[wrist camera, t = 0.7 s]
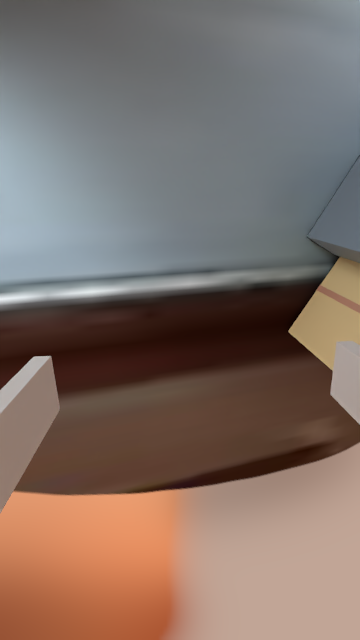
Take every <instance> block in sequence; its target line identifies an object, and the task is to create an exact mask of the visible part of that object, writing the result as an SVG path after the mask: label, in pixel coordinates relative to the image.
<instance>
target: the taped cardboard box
mask: <svg viewBox="0 0 360 640" xmlns="http://www.w3.org/2000/svg"><path fill="white" fill-rule="evenodd" d="M288 332H289V333H290V334H291V335H292V336H294V337H295V338H296V339H297V340H298V341H299V342H300V343H302V344H303V345H304V346H305V347H306V348H307V349H308V350H310V351H311V352H312V353H313V354H314V355H315V356H316V357H318V358H319V359H320V360H321V361H322V362H323V363H324V364H326V365H327V366H328V367H329V368H330V369H331V370H332V371H333V367H334V358H335V350H336V342H340V341H354V342H355V343H357V344H358V345H360V263H358V262H355V261H352V260H349V259H346V258H343V257H339V259H338V260H337V262H336V263H335V265H334V266H333V267H332V269H331V270H330V272H329V273H328V275H327V276H326V278H325V279H324V280H323V282H322V283H321V285H319V287H318V288H317V290H316V292H315V293H314V295H313V296H312V298H311V299H310V300H309V302H308V303H307V305H306V306H305V308H304V309H303V311H302V312H301V313H300V315H299V316H298V318H297V319H296V321H295V322H294V323H293V325H292V326H291V328H290V329H289V331H288Z"/></svg>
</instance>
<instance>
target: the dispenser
mask: <svg viewBox="0 0 360 640" xmlns="http://www.w3.org/2000/svg"><path fill="white" fill-rule="evenodd" d="M307 237H308V238H310V239H311V240H313V241H314V242H316V243H317V244H319V245H320V246H322V247H323V248H325V249H326V250H328V251H329V252H331V253H332V254H334V255H337V256H340V257H343V258H346V259H349V260H352V261H355V262H358V263H360V156H359V157H358V159H357V161H356V162H355V164H354V165H353V167H352V168H351V170H350V171H349V173H348V174H347V176H346V177H345V179H344V181H343V182H342V184H341V185H340V187H339V188H338V190H337V191H336V193H335V194H334V196H333V197H332V199H331V200H330V202H329V204H328V205H327V207H326V208H325V210H324V211H323V213H322V214H321V216H320V217H319V219H318V220H317V222H316V223H315V225H314V227H313V228H312V230H311V231H310V233H309V234H308V236H307Z"/></svg>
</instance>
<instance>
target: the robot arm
mask: <svg viewBox="0 0 360 640" xmlns="http://www.w3.org/2000/svg"><path fill="white" fill-rule="evenodd" d="M330 394H331V396H332V397H333V398H334V399H335V400H336V401H337V402H338V403H339V404H340V405H341V406H342V407H343V408H344V409H345V410H346V411H347V412H348V413H349V414H350V415H351V416H352V417H353V418H354V419H355V420H356V421H357V422H358V423H359V424H360V345H358V344H357V343H355V342H354V341H340V342H336V350H335V358H334V367H333V376H332V384H331V393H330ZM59 410H60V407H59V401H58V395H57V389H56V383H55V377H54V371H53V365H52V359H51V356H40V357H33V358H32V359H31V360H30V361H29V362H28V363H27V364H26V365H25V366H24V367H23V368H22V369H21V370H20V371H19V372H18V373H17V374H16V375H15V376H14V377H13V378H12V379H11V380H10V381H9V382H8V383H7V384H6V385H5V386H4V387H3V388H2V389H1V390H0V513H1V511H2V509H3V508H4V506H5V504H6V502H7V501H8V499H9V497H10V496H11V494H12V492H13V490H14V489H15V487H16V485H17V483H18V482H19V480H20V478H21V476H22V475H23V473H24V471H25V469H26V468H27V466H28V464H29V462H30V461H31V459H32V457H33V455H34V454H35V452H36V450H37V448H38V447H39V445H40V443H41V441H42V440H43V438H44V436H45V434H46V433H47V431H48V429H49V427H50V426H51V424H52V422H53V421H54V419H55V417H56V415H57V414H58V412H59Z"/></svg>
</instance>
